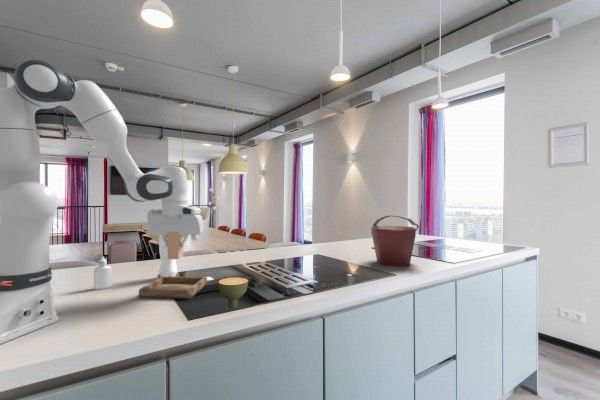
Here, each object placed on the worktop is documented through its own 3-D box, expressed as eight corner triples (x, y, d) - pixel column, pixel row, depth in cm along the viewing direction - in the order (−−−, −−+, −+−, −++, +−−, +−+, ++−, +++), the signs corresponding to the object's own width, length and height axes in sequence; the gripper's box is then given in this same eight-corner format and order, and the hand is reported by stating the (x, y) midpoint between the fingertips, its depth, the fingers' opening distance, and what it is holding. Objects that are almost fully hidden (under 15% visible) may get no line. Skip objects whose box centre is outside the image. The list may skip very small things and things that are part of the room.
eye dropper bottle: (108, 289, 112) (108, 257, 112) (91, 290, 111) (91, 258, 111) (113, 286, 116) (113, 255, 116) (97, 286, 115) (97, 255, 115)
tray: (190, 298, 102) (190, 290, 102) (138, 297, 103) (138, 289, 103) (206, 284, 118) (206, 277, 118) (162, 284, 119) (162, 276, 119)
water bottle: (180, 275, 131) (180, 218, 131) (172, 280, 124) (171, 220, 124) (165, 275, 132) (164, 218, 131) (155, 279, 125) (155, 220, 124)
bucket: (427, 265, 151) (428, 216, 151) (397, 270, 140) (397, 217, 140) (390, 256, 172) (391, 213, 172) (361, 260, 161) (361, 214, 161)
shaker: (178, 259, 108) (178, 227, 108) (167, 259, 109) (167, 227, 108) (183, 256, 112) (182, 226, 112) (172, 256, 113) (172, 226, 112)
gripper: (142, 210, 107) (143, 248, 108) (198, 209, 106) (198, 248, 107) (151, 209, 114) (152, 245, 114) (204, 209, 113) (205, 245, 113)
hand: (175, 246), depth 110 cm, fingers closed on shaker, 4 cm apart
